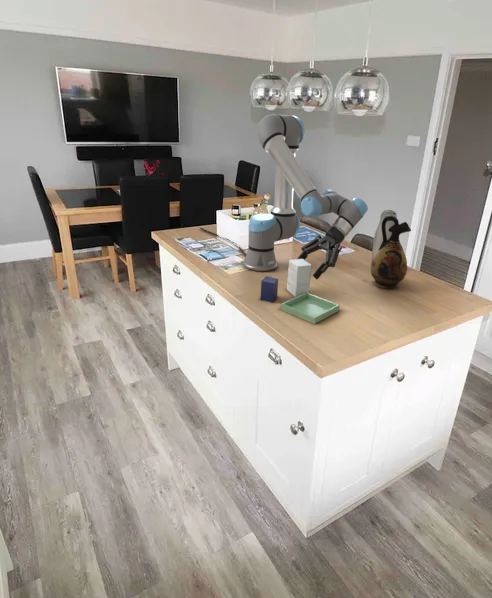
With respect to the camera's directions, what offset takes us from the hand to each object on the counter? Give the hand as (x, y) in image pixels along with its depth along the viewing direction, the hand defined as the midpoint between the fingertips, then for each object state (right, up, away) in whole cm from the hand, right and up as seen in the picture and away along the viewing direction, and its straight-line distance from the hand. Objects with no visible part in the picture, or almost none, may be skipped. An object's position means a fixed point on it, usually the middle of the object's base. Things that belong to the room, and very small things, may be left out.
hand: (304, 271), depth 166 cm
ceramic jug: (+35, -5, +18) cm, 40 cm away
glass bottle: (+38, +5, +38) cm, 54 cm away
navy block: (-14, -11, -5) cm, 18 cm away
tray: (+2, -15, -11) cm, 19 cm away
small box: (-3, -8, +3) cm, 9 cm away
